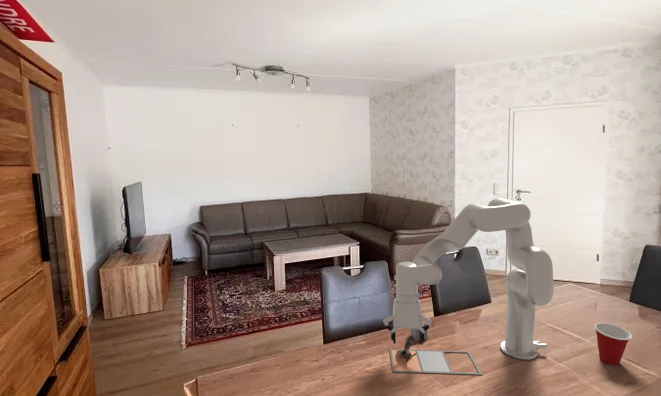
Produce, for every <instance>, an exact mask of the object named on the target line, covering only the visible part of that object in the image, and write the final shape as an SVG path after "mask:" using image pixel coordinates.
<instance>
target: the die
mask: <svg viewBox="0 0 661 396" xmlns="http://www.w3.org/2000/svg"><path fill="white" fill-rule="evenodd" d="M424 325H425V324H424V323H423V322H422V326H424ZM411 335H412V336H411ZM410 336H411V338H413V339H414V341H416V340H417V341H420V340H419V329H418V328H417V329H410ZM425 340H426V341H427V340H428V329H427V330H426V331H425V333H424V340H423V341H425Z"/></svg>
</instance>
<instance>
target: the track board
mask: <svg viewBox="0 0 661 396" xmlns="http://www.w3.org/2000/svg"><path fill="white" fill-rule="evenodd" d="M400 349H401V348H400ZM400 349H399V348H398V349H397V348H396V349H395V348H388V352H389V357H390V362H391V363H390V364H391V369H392V373H402V374H403V373H404V374H406V373H407V374H431V375H432V374H435V375H436V374H438V375H464V376H467V375H468V376H483V374H482V373H483V372H481V370H480V368H479V366H478V364H477V362H476V361H475V359H474V357H473V355H472V354H471V351H469V350H439V349H435V350H432V349H431V350H429V349H409V353H411V355H413V354H415V353H417V354H416V355H415V356H413V357H412V358H410V359H409V361H408V362H407V364H406V359H404V356H403V355H402V354H400V355H398V354H397V351H398V350H400ZM445 353H450V354H456V353H457V354H468V356H469V358H470V360H471V361H472V364H473V365H474V367H475V369H476V371H477V372H460V371H459V372H458V371H452V368H451V366H450V363H449V361H448V358H447V356H446V354H445Z"/></svg>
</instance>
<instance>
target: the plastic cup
mask: <svg viewBox="0 0 661 396" xmlns="http://www.w3.org/2000/svg"><path fill="white" fill-rule="evenodd" d="M594 330H595V333H596V340H597V350H598V356H599V359H600V361H602V362H603V363H605V364H608V365H612V366H618V365H620V363H621V362H622V361H621V360H622V358H623V355H624V353H625V350H626V347H627V344H628V342H629V341H630V340H631V339H632V338H633V335H632V333H631V332H629V330H627V329H624V328H623V327H621V326H617V325H615V324H611V323H607V322H597V323H595V324H594Z"/></svg>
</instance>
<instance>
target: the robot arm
mask: <svg viewBox="0 0 661 396" xmlns="http://www.w3.org/2000/svg"><path fill="white" fill-rule="evenodd" d="M530 219H531V210H530V208H529V207H528V206H527V205H526V203H523V202H520V201H515V200H510V199H505V198H501V197H500V198H499V197H498V198H494V199H493V198H492V199H491V200H490V201H489V203H488V205H487V206H485V205H483V204H479V203H470V204H467V205H466V206H465V207H463V208H462V209H461V211H459V213H458V215H457V216H456V217H455V218H454V219H453V220H452V222H451V223H449V226H448V227H447V228H446V229H445V231H443V232H442V233H441V234H439V235H438V236H436V237H435V238H433V239H432V240H430V241H428V242H427V243H425V245H424V246H422V248H421V249H420V250H419V251H418V252H417V254H416V255H415V257H413V259H412V261H401V262H398V263H397V264H396V266H395V275H396V276H395V278H396V281H395V282H396V283H395V285H396V286H395V287H396V292H395V293H396V297H395V298H394V300H393V305H392V315H389V316H387V317H385V318H383V320H382V321H383V324H384V326H385V328H386V330H388V331H389V333H390V340H391V341H392V342H393V344H394V345H395V344H396V343H397V342H396V340H397V339H396V331H397V329H398V330H399V329H401V330H402V329H403V330H404V329H406V330H408V329H410V330H411V329H417V328H418V329H419V340H418V341H419V343H420V344H421V345H423V344H424V343H423V341H425V340H424V333H425V331H426V330H427V331H428V330H429V329H430V326H431V325H432V323H433V320H432V319H431V318H430V317H427V316H425V315H423V313H422V305H421V301H420V298H423V294H422V293H420V292H419V291H418V290H419V285H427V286H431V285H438V283H440V282H441V280H442V278H443V270H441V268H440V267H439V266H438V265H437V264H436V263H435V262H436V261H437V260H438V259H439V258H440V257H442V256H443V255H446V254H447V253H451V252H456V251H460V250H463V249H464V248H465V247H466V246H467V244H468V243H469V242H470V241H471V239H472V238H473V237H475V234H476V233H477V232H479V231H480V232H484V233H490V232H491V233H492V232H499V231H505V236H506V249H507V250H506V252H507V260H508V262H509V263H510V264H511V265H512V266H513V267H515V269H512V270H510V271H509V272H508V273H507V275H506V277H505V290H506V316H505V317H506V319H505V336H504V337H505V339H504V340H503V341H501V342H500V347H499V348H500V350H501V351H502V352H503V353H504V354H506V355H507V356H510V357H511V358H515V359H518V360H522V361H523V360H525V361H528V360H529V361H530V360H534V359H535V358H537V357H538V350H540V349H541V350H547V349H548V345H547V343H541V342H540V340H535V338H534V337H535V323H536V306H537V307H543V306H546V305H548V304H549V303H550V302H551V301H552V299H553V297H554V292H555V291H554V287H555V286H554V270H553V269H554V267H553V261H552V258H551V257H550V255H549V253H548V252H547V251H546V250H543V249H542V248H539V247H538V246H537V247H536V246H535V245H534V244H535V243H534V239H533V231H532V227H531V223H530ZM423 321H424V322H426V323H425V324H424V326H422V323H423ZM389 322H392V324H391V325H390V324H389Z"/></svg>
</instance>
